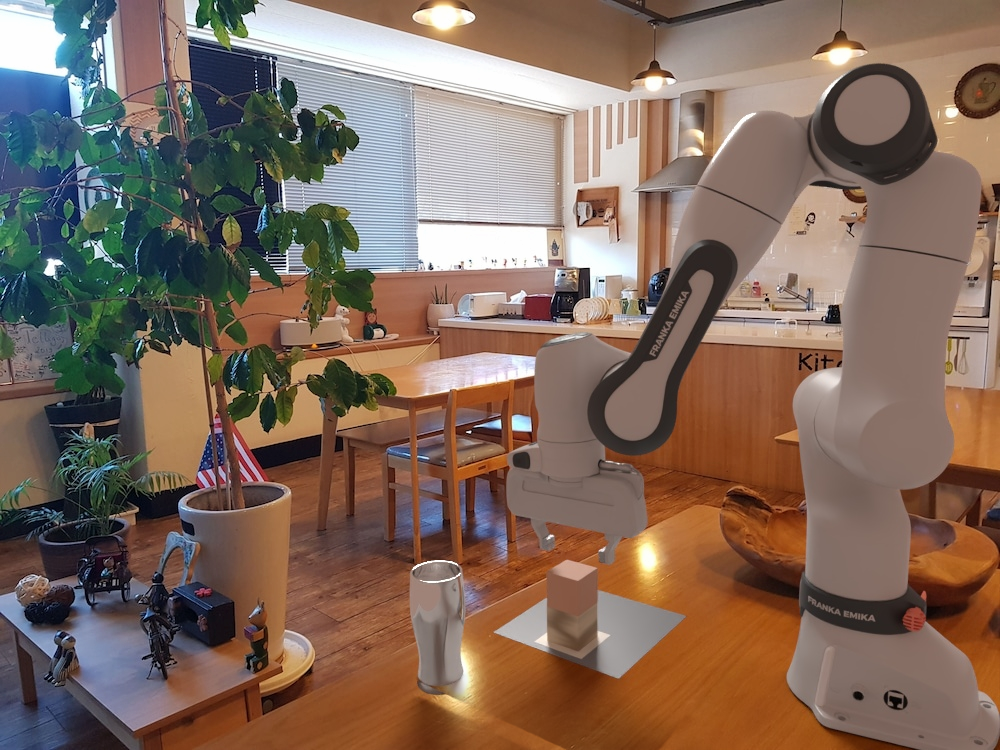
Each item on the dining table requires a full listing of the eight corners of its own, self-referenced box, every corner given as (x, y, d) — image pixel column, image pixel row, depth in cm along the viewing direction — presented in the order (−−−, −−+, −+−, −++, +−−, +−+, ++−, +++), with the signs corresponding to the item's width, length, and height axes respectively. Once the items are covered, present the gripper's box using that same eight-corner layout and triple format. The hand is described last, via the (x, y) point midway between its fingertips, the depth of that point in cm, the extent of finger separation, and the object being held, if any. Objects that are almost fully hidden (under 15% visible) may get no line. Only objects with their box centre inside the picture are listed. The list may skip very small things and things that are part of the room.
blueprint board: (686, 623, 109) (686, 615, 109) (618, 687, 93) (618, 678, 93) (570, 588, 121) (570, 581, 121) (493, 640, 106) (493, 632, 105)
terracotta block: (597, 602, 103) (597, 568, 102) (578, 616, 99) (577, 580, 98) (567, 593, 106) (566, 559, 105) (547, 606, 102) (546, 571, 101)
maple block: (597, 636, 103) (597, 602, 103) (578, 651, 100) (577, 616, 99) (567, 625, 107) (566, 593, 106) (547, 640, 103) (546, 606, 102)
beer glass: (402, 689, 94) (397, 577, 92) (432, 662, 100) (428, 556, 98) (450, 703, 91) (445, 587, 89) (478, 674, 97) (474, 565, 95)
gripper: (654, 459, 95) (657, 562, 97) (524, 443, 107) (529, 534, 110) (630, 472, 90) (634, 580, 92) (497, 453, 102) (503, 549, 105)
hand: (576, 555), depth 101 cm, fingers open, 8 cm apart
